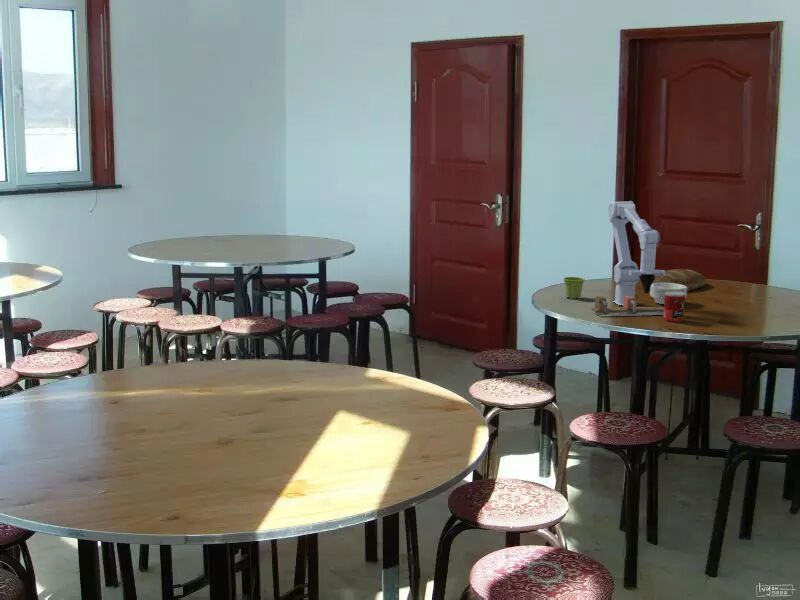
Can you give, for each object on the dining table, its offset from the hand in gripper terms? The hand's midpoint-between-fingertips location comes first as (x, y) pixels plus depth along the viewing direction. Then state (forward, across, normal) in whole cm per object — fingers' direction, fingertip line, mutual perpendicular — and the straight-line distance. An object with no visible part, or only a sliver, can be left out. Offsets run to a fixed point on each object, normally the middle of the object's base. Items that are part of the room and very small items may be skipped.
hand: (646, 292), depth 406 cm
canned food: (+8, +5, -18) cm, 20 cm away
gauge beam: (+8, -7, -3) cm, 11 cm away
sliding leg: (+6, -7, -3) cm, 10 cm away
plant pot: (+8, -21, +33) cm, 40 cm away
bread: (+9, +35, +56) cm, 66 cm away
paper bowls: (+8, +16, +17) cm, 25 cm away
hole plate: (+8, -7, -6) cm, 12 cm away
